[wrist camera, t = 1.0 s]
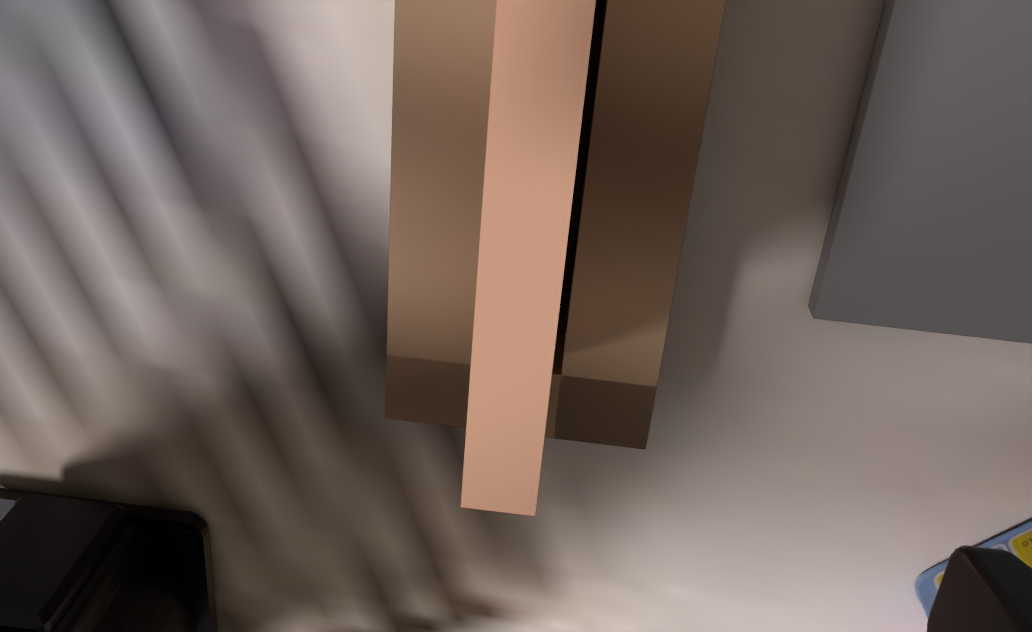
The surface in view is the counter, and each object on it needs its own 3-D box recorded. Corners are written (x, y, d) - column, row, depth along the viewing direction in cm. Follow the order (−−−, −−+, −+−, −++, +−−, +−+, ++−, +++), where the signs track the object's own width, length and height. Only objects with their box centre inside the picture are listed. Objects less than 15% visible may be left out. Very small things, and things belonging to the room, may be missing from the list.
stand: (643, 404, 22) (645, 449, 21) (401, 375, 22) (385, 418, 21) (742, -174, 17) (756, -173, 15) (419, -204, 17) (399, -206, 15)
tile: (556, 316, 21) (534, 516, 15) (502, 309, 21) (460, 507, 15) (599, -64, 18) (596, -4, 12) (535, -70, 18) (497, -14, 12)
